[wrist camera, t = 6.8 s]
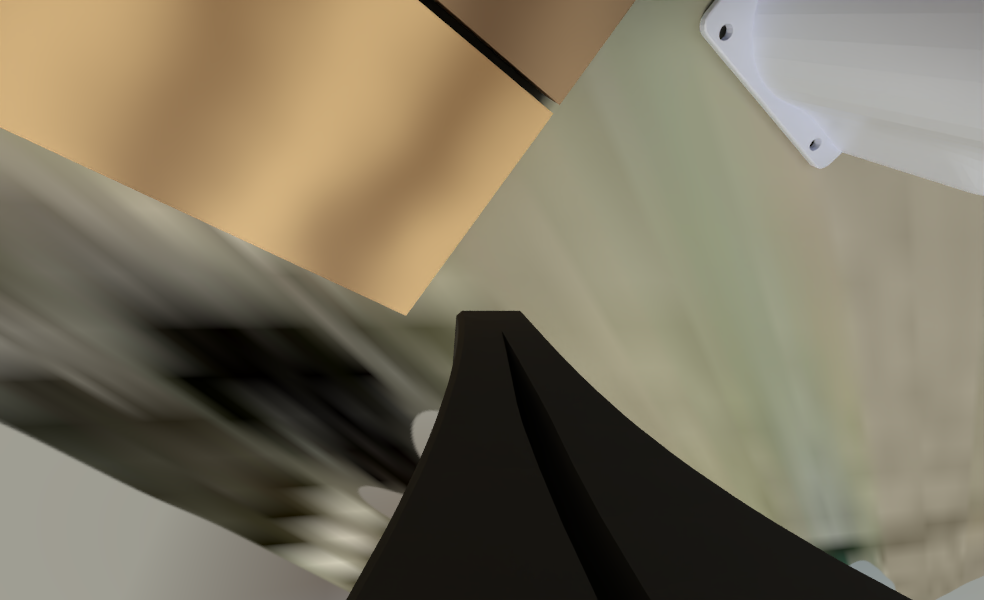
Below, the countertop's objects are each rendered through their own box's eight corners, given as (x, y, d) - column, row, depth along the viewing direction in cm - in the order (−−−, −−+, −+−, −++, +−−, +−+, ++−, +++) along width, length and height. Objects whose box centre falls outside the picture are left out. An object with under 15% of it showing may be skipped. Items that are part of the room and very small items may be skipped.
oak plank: (539, 103, 16) (553, 113, 15) (406, 291, 20) (406, 315, 19) (-124, -451, 9) (-250, -560, 7) (-138, 22, 12) (-222, 24, 11)
